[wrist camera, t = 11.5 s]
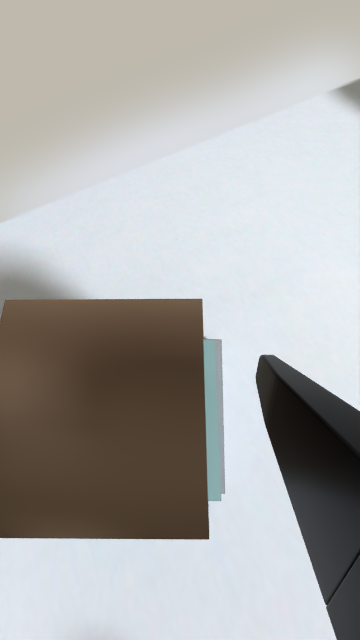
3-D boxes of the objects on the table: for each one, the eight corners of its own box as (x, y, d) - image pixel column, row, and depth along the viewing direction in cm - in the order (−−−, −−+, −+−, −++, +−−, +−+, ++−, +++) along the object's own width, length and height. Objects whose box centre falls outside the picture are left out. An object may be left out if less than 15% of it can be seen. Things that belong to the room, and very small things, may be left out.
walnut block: (193, 461, 15) (209, 539, 6) (95, 460, 15) (-50, 537, 6) (192, 363, 17) (202, 299, 7) (104, 363, 17) (5, 299, 8)
